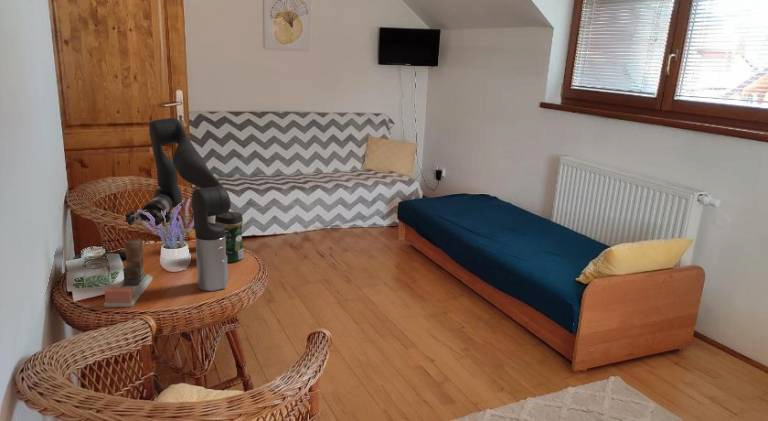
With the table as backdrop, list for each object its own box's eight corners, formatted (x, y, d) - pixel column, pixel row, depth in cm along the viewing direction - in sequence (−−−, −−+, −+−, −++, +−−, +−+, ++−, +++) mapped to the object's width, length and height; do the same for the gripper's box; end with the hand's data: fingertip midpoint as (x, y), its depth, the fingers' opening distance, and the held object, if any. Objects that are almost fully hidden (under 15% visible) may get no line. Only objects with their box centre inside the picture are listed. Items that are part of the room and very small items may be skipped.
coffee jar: (212, 260, 204) (210, 211, 199) (226, 253, 211) (224, 207, 206) (234, 264, 201) (232, 215, 196) (247, 258, 208) (246, 210, 203)
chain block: (145, 276, 183) (142, 238, 179) (139, 284, 176) (135, 246, 172) (131, 276, 182) (128, 238, 179) (124, 285, 175) (121, 245, 172)
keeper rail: (152, 279, 184) (151, 265, 183) (132, 306, 164) (131, 291, 163) (127, 279, 183) (126, 265, 182) (104, 306, 163) (102, 291, 162)
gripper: (135, 199, 200) (120, 211, 185) (175, 200, 202) (164, 212, 187) (136, 218, 202) (121, 233, 187) (176, 219, 204) (165, 233, 189)
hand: (143, 222), depth 187 cm, fingers open, 8 cm apart
